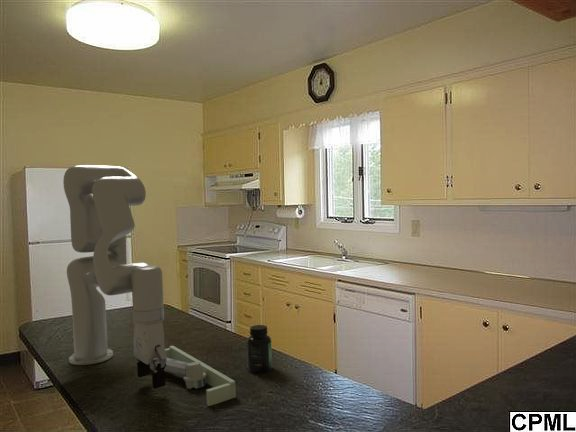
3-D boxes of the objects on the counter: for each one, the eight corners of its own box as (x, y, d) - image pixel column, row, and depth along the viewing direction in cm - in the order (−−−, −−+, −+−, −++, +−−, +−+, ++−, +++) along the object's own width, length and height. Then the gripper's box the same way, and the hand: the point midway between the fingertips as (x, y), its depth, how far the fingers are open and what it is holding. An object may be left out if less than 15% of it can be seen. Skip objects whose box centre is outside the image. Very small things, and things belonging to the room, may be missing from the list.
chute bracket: (150, 364, 136) (150, 351, 135) (173, 358, 140) (172, 345, 140) (209, 406, 107) (208, 389, 107) (235, 397, 111) (235, 381, 111)
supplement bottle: (276, 369, 129) (275, 327, 128) (256, 375, 124) (255, 332, 124) (263, 363, 134) (261, 322, 133) (243, 368, 130) (241, 327, 129)
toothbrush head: (156, 351, 136) (208, 357, 119) (158, 374, 135) (211, 383, 119) (140, 356, 132) (191, 363, 115) (142, 379, 131) (194, 390, 115)
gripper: (121, 311, 121) (124, 375, 121) (147, 324, 107) (150, 396, 108) (149, 306, 125) (151, 368, 126) (177, 318, 112) (180, 387, 113)
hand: (151, 381), depth 117 cm, fingers open, 9 cm apart
